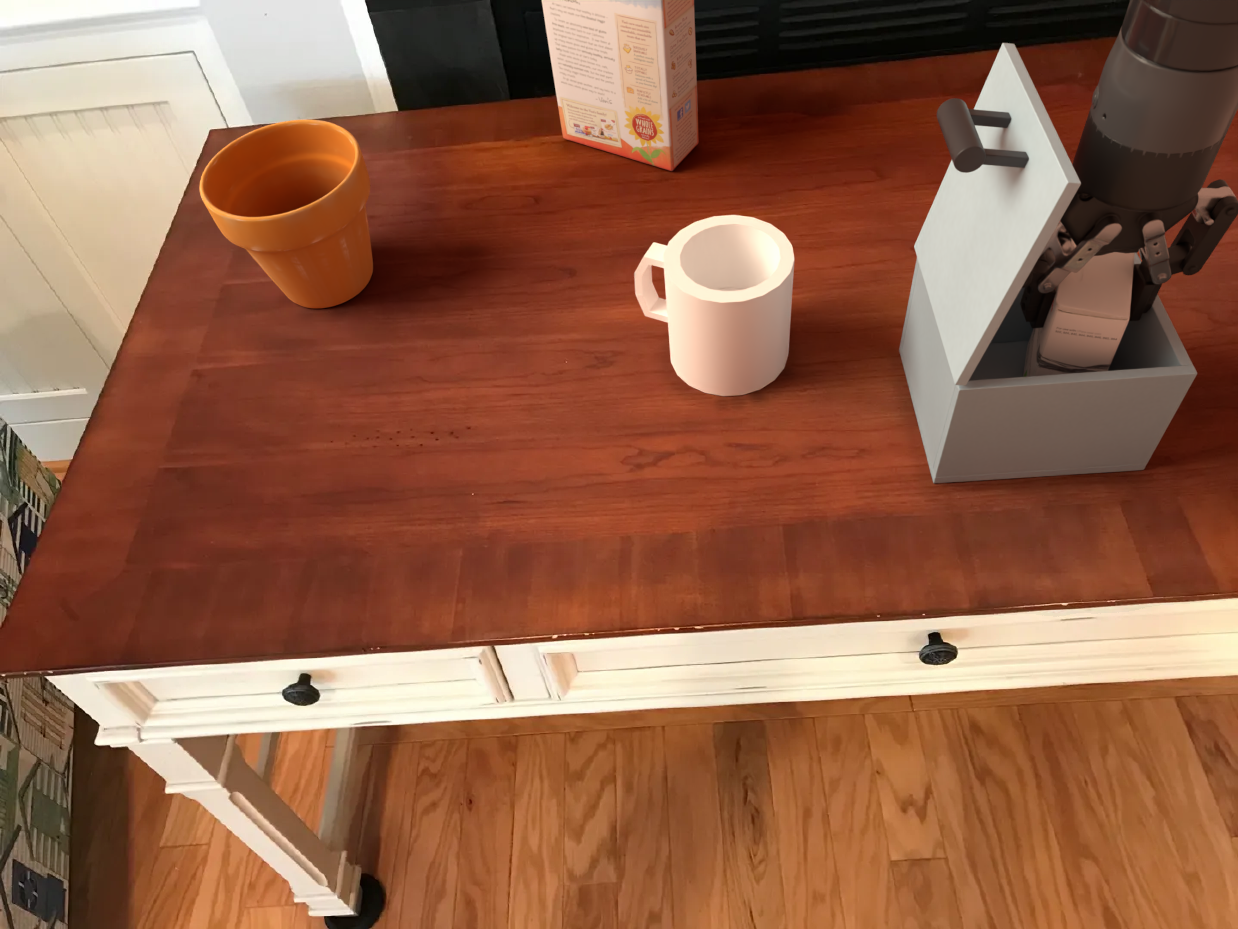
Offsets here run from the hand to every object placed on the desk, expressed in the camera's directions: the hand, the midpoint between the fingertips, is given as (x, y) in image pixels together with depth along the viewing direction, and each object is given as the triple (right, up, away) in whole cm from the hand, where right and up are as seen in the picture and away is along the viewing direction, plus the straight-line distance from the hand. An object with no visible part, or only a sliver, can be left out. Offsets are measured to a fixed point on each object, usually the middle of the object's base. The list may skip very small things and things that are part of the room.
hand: (1081, 315), depth 71 cm
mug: (-25, -1, +15) cm, 29 cm away
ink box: (+1, -5, +6) cm, 8 cm away
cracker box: (-32, +24, +34) cm, 52 cm away
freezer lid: (-9, +5, -7) cm, 13 cm away
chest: (-2, -6, +8) cm, 10 cm away
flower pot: (-62, +7, +25) cm, 67 cm away
